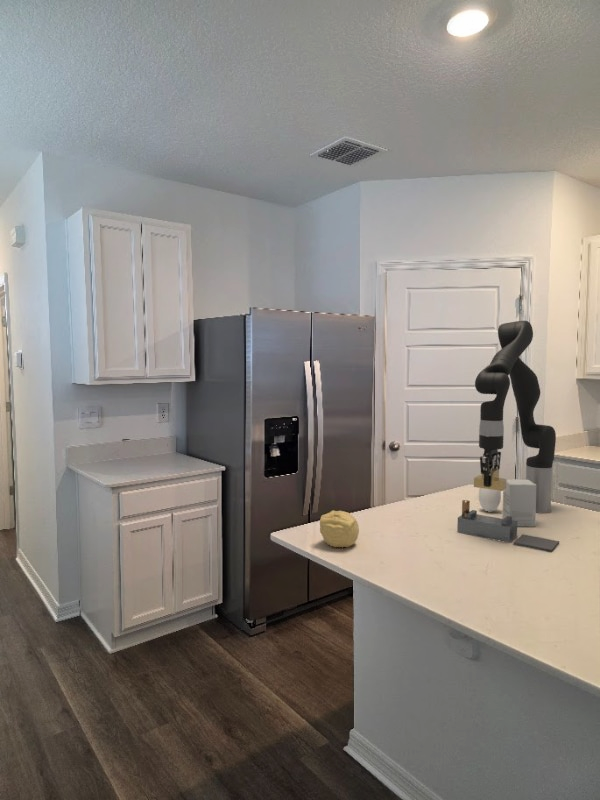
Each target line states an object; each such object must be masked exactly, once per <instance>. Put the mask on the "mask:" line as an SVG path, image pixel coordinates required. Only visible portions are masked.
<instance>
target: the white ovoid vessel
mask: <svg viewBox="0 0 600 800" xmlns="http://www.w3.org/2000/svg"><path fill="white" fill-rule="evenodd" d="M501 492H502V491H499V490H492V489H485V488H478V501H479V504H480V507H481V508H482V509H484V511H485V512H487V511H488V512H487V513H492V512H495V510H497V509H498V508H499V506H500V503H501V498H502V493H501Z"/></svg>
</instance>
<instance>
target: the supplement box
mask: <svg viewBox="0 0 600 800" xmlns="http://www.w3.org/2000/svg"><path fill="white" fill-rule="evenodd" d="M506 479H507V478H506ZM502 491H503V493H502V519H504V518H505V517H507V516H510V517H512V521H517V527H532V528H533V527H536V517H537V516H536V515H537V514H536V513H537V512H536V484H534V483H532V482H531V481H530V480H526V479H521V478H520V479H519V478H518V479H516V478H515V479H512V478H508V479H507V484H506V489H504V490H502Z"/></svg>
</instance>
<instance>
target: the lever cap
mask: <svg viewBox="0 0 600 800" xmlns="http://www.w3.org/2000/svg"><path fill="white" fill-rule="evenodd" d="M486 471H487V468H486ZM506 484H507V478H502V477H500V469H495V468H493V469H492V474H491V486H490V487H485V486H484V475H483V474H481V475H478V476H475V477H473V488H478V489H479V488H485V489H492V490H499V491H501V492H502V491H503V490H504V489H506Z"/></svg>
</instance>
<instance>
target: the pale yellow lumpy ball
mask: <svg viewBox="0 0 600 800" xmlns="http://www.w3.org/2000/svg"><path fill="white" fill-rule="evenodd" d="M319 533H320V534H321V536H322V538H323V540H324V542H325V543H326V544H327V545H328V546H329V545H330V546H329V547H332V546H333V547H332V548H336V547H342V548H341V549H344V548H343V547H346V548H349V547H351V546H353V545H354V544H355V543H356V542H357V540H358V538H359V533H360V528H359V524H358V521H357V519H356V518H355V516H353V514H351V513H349V512H346V511H343V510H331V511H330V512H327V513H326V514H325V513H324V514H322V515H321V516H320V520H319Z"/></svg>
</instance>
